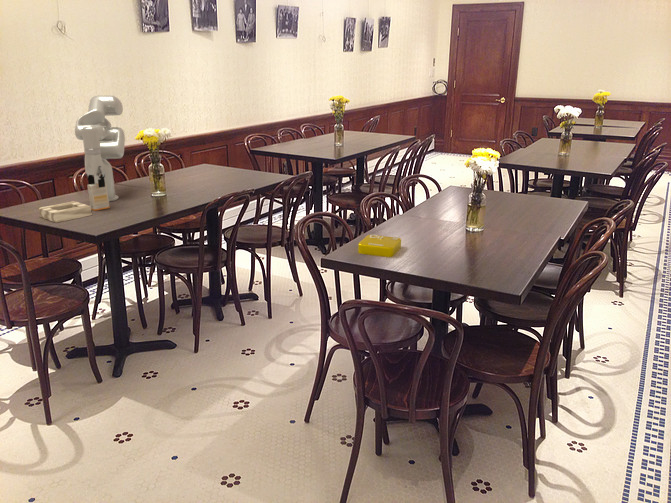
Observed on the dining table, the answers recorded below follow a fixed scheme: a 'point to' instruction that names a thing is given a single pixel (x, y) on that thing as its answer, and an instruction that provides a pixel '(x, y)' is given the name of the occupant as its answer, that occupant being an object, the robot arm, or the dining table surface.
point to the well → (65, 211)
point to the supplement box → (98, 197)
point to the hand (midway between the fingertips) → (96, 185)
